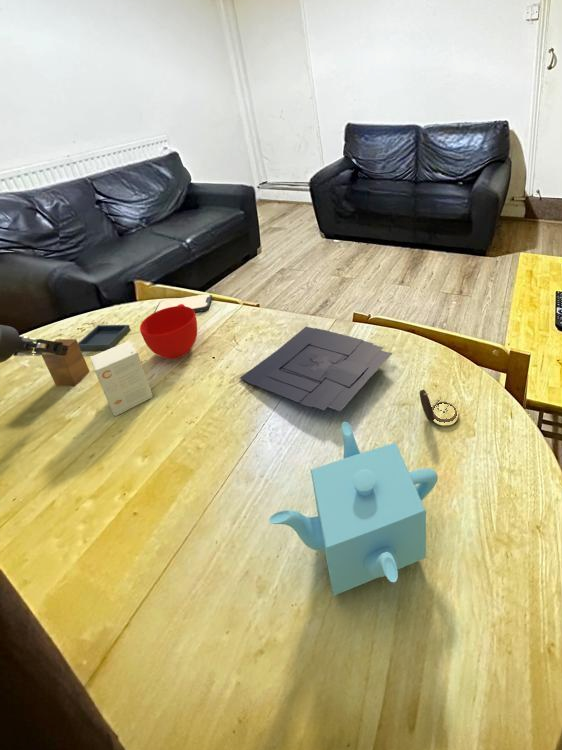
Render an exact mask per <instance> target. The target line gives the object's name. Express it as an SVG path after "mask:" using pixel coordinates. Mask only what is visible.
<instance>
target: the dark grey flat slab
mask: <svg viewBox="0 0 562 750" xmlns="http://www.w3.org/2000/svg"><path fill="white" fill-rule="evenodd" d="M383 349H384V347H383V346H381V345H376V344H374V343H373V342H371V341H366V340H364V339H361V338H358V337H355V336H354V337H353V336H350V335H346V334H342V333H337V332H334V331H331V330H326V329H321V328H318V327H317V328H316V327H311V326H305V327H304V328H302V329H301V330H300V331H299V332H298V333H296V334H295V335H294V336H293V337H291V338H289V340H288V341H286V343H284V344H283V345H282V346H280V347H279V348H278V349H277V350H276V351H274V352H272V353H271V354H270V355H268V356H266V358H264V359H263V360H261V362H259V363H258V364H257V365H255V366H253V367H252V368H251V369H249V370H248V371H246V373H244V374H243V375H241V376H240V377H239V379H240V380H243V381H244V382H246V383H248V384H250V385H253V386H256V387H258V388H260V389H261V388H262V389H264V390H266V391H269V392H272V393H274V394H276V395H279V396H281V397H284V398H287V399H289V400H292V401H293V402H296V403H299V404H300V405H303V406H306V407H309V408H311V407H314V408H317V409H320V410H322V411H325V410H327V408H330V409H333V410H336V411H339V412H342V410H343V409H344V408H345V407H346V406H347V405H348V403H350V401H351V400H352V399H353V398H354V397H355V395H357V393H358V392H359V391H360V390H361V389H362V387H363V386H364V385H365V384H367V382H368V381H369V379H370V378H371V377H372V376H373V375H374V374H375V373H376V372H377V371H378V370H380V367H381V366H383V365H384V364H385V362H386V361H387V360H388V359H389V358H390V357H391V356H392V355H393V353H392V352H388V351H384V350H383Z"/></svg>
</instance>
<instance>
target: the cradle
mask: <svg viewBox="0 0 562 750" xmlns="http://www.w3.org/2000/svg"><path fill="white" fill-rule="evenodd" d="M130 331H131V327H130V324H97V326H95V327H94V328H93V329H92V330H90V332H89V333H88V334H86V335H85V336H84V337H83V338H82V339H81V340H79V342H78V345H79V347H80V349H81V352H103V351H106V350H108V349H111V348H113V347H115V346H118V345H119V344H118V343H120V342H121V341H122V340H123V339H124V338H125V337H126V336H127V334H128V333H130Z"/></svg>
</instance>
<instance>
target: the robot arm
mask: <svg viewBox="0 0 562 750" xmlns="http://www.w3.org/2000/svg"><path fill="white" fill-rule="evenodd" d="M68 348H69V347H68V346H67V345H63V343H62V342H55V340H48V339H43V338H31V337H29V336H20V334H19V331H18V330H17V329H16V328H14V327H12V326H9V325H4V324H0V363H3V362H6V361H7V360H9V359H10V358H12V356H13V357H24V356H25V357H40V356H42V354H50V355H62V356H65V355H67V352H68Z"/></svg>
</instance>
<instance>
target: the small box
mask: <svg viewBox="0 0 562 750" xmlns="http://www.w3.org/2000/svg"><path fill="white" fill-rule="evenodd" d="M89 360H90V363H91V365H92V368H93V369H94V370H93V371H94V373H95V375H96V376H97V380H98V381H99V384H100V387H101V389H102V391H103V395H104V397H105V398H106V400H107V403H108V405H109V408H110V410H111V412H112V414H113V416H114V417H117V416H119V415H122V414H123V413H124V412H126V411H127V412H128V410H131V409H132V408H135V407H136V406H139V405H141V404H143V403H144V402H147V401H148V400H150V399H152V398H153V397H154V395H153V392H152V390H151V387H150V384H149V381H148V378H147V375H146V372H145V370H144V367H143V365H142V361H141V358H140V356H139V353H138V352H137V350H136V348H135V347H134V345H133V344H132V342H131V341H130V340H128V341H125V342H123V343H121V344H117V345H116V346H115V347H113V348H111V349H108V350H106V351H100V352H99V353H96V354H93V355H92V356H91V355H90V356H89Z"/></svg>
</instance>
